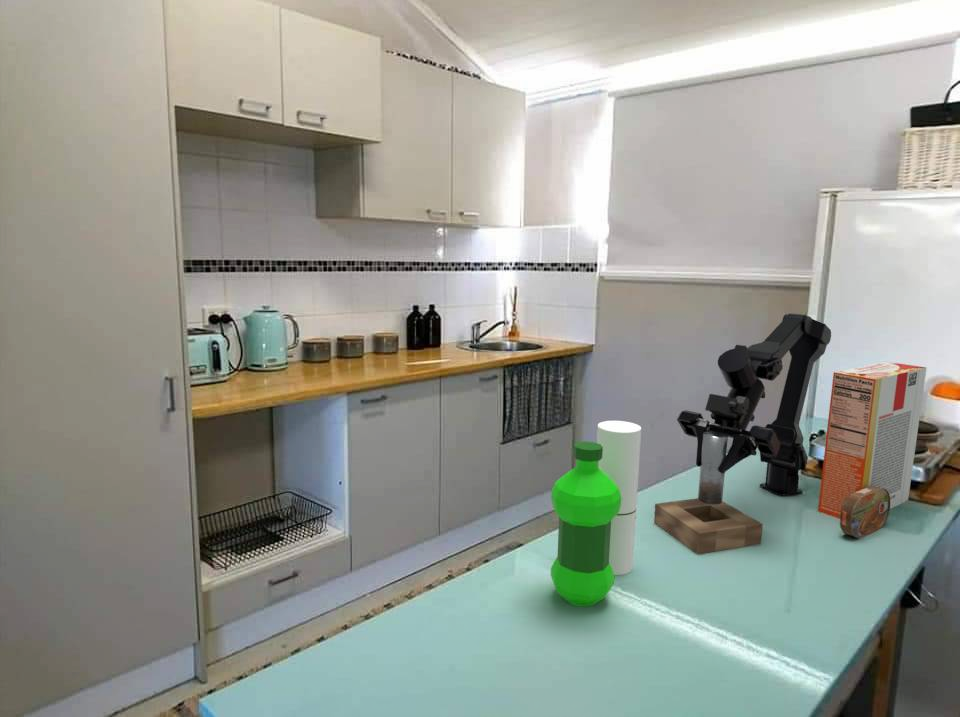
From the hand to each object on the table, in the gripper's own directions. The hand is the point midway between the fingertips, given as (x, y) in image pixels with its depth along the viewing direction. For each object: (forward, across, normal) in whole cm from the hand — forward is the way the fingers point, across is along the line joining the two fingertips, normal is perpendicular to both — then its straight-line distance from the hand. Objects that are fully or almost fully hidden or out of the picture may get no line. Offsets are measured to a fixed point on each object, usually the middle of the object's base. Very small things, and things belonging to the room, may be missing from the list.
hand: (709, 468), depth 124 cm
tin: (-9, +20, +28) cm, 36 cm away
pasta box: (-19, +16, +38) cm, 45 cm away
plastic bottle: (+35, -2, -15) cm, 38 cm away
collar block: (+9, 0, +10) cm, 14 cm away
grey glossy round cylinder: (+4, 0, +6) cm, 7 cm away
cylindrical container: (+26, -5, -7) cm, 27 cm away
